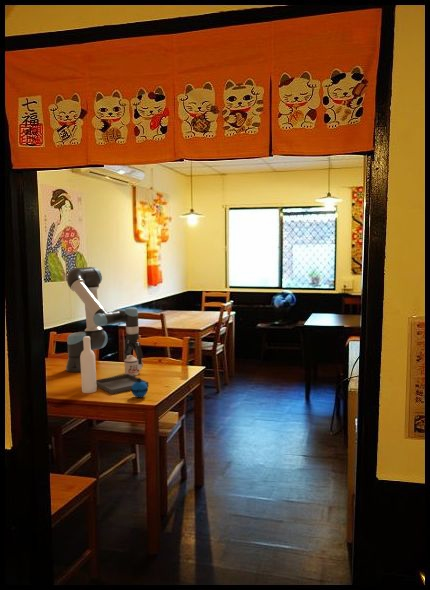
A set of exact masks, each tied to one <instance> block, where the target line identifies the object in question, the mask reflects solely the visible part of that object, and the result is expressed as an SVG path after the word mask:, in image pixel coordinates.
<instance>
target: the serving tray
mask: <svg viewBox="0 0 430 590" xmlns="http://www.w3.org/2000/svg"><path fill="white" fill-rule="evenodd" d="M138 378H139V377H137V376H136V375H135V376H133V375H130V374H125V373H124V374H121V375H119V374H118V375H114V376H109V377H106V378H98V379H96V384H97V388H99V389H101V390H103V391H105V392H107V393H109V394H110V395H115V393H116V394H119V393H120V392H121V393H124V392H130V391H131V387H132V385H133V384H134V383H135V382H137V381H138V380H137V379H138ZM140 379H141V378H140ZM141 381H143V382H144V383H146V385H147V387H148V388H149V381H146V380H145V379H141ZM121 393H120V394H121Z"/></svg>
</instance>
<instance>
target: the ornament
mask: <svg viewBox="0 0 430 590" xmlns="http://www.w3.org/2000/svg"><path fill="white" fill-rule="evenodd" d="M137 378H138V379H137V380H138V381H137V382H135V383H134V384H133V385H132V387H131V390H130V391H131V394H132V395H133V396H135V397H136V398H143V397H145V396H146V395H147V393H148V391H149V386H148V387H147V385H146V383H144V382H143V381H141V378H140V377H137Z"/></svg>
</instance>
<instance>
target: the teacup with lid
mask: <svg viewBox="0 0 430 590" xmlns="http://www.w3.org/2000/svg"><path fill="white" fill-rule="evenodd" d="M123 363H124V374H130V375H133V376H135V377H136V376H138V375H139V374H140V370H137V357H135V356H134V355H132V354H130V357H128V358H127V357H126V358H124V359H123ZM143 366H144V362H143V361H142V368H143Z"/></svg>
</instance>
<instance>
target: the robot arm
mask: <svg viewBox="0 0 430 590" xmlns="http://www.w3.org/2000/svg"><path fill="white" fill-rule="evenodd" d="M102 280H103V275H102V272H101V270H100V269H98V268H97V267H93V266H86V267H76V268H73V269H71V270H70V271H68V274H67V276H66V283H67V286H68V287H69V288H70V290H71V291H72V292H74V293H75V294H76V295H77V296H78V297H79V299H80V300H81V302H82V303H83V305H84V311H85V320H86V322H85V323H86V328H85V329H84V331H78V332H74V333H70V334H68V336H67V337H66V338H67V339H66V340H67V342H66V343H67V355H68V356H67V362H66V365H65V372H68V373H81V363H80V355H81V352H82V351H83V350H84V344H83V337H85V336H89V337H90V345H91V350H92V351H96V350H100V349H103V348H104V347H106V345H107V343H108V334H107V332H106V331H105V330H104V328H103V327H104V326H109V325H113V324H120V323H124V324H125V333H126V334H125V335H126V340H125V346H124V355H125V356H126V359H127V358H128V357H130V355H132V350H133V351H134V353H135V356H136V358H137V370H139V371H140V370H143V367H142V362H143V361H142V359H144V355H143V354H144V353H143V350H142V347H141V342H140V341H138V340H139V339H140V333H139V332H140V331H139V330H140V329H139V328H140V327H139V311H138V308H137V307H135V306H133V307H126V308H125V309H124V310H123V309H115V310H112V311H107V310H106V309H105V308H104V306H103V305H102V304H101V302H100V301H99V300H98V298H99V297H98V289H99V287H100V284H102ZM102 326H103V327H102Z"/></svg>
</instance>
